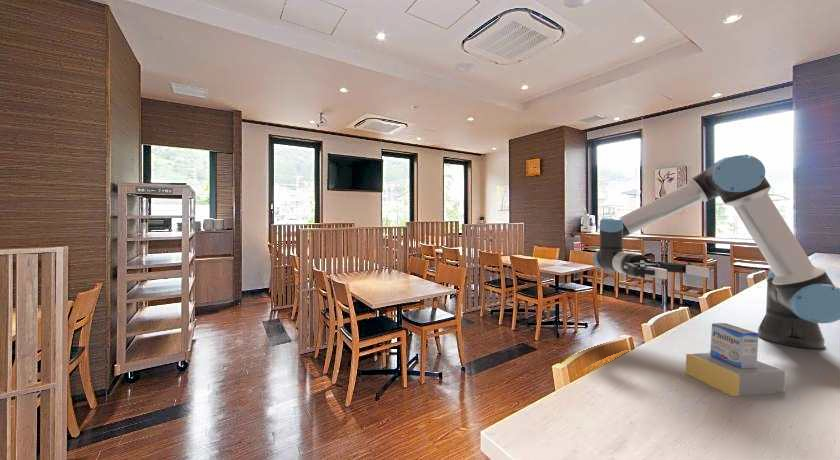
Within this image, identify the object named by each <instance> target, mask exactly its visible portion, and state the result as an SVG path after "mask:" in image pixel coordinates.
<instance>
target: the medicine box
mask: <svg viewBox="0 0 840 460" xmlns="http://www.w3.org/2000/svg"><path fill="white" fill-rule="evenodd" d="M758 348H759V336H758V332H756V331H751V330H749V329H745V328H742V327H738V326H737V325H732V324H729V323H727V322H726V323H725V322H718V323H717V322H715V323H712V324H711V335H710V351H709V353H710V355H711V357H714V358H716V359H719V360H721V361H724V362H726V363H729V364H731V365H734V366H736V367H738V368H741V369H748V368H756V367H757V361H758V351H759V349H758Z"/></svg>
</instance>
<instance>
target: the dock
mask: <svg viewBox="0 0 840 460" xmlns="http://www.w3.org/2000/svg"><path fill="white" fill-rule="evenodd" d="M785 372H786V371H785V370H783V369H780V368H777V367H776V366H775V367H774V366H772V365H769V364H767V363H764V362H761V361H760V360H757V367H756V368H748V369H741V368H738V367H736V366H734V365H731V364H729V363H726V362H724V361H721V360H719V359H716V358H714V357H711V355H710V352H705V353H704V352H702V353H700V352H699V353H686V355H685V374H687V375H689V376H691V377H693V378H695V379H696V380H699V381H701V382H702V383H705V384H707V385H709V386H711V387H712V388H715V389H716V390H719V391H721V392H723V393H726V394H727V395H729V396H731V397H741V396H742V397H743V396H754V395H763V394H764V395H765V394H766V395H767V394H776V393H777V394H778V393H784V392H785V377H786V376H785V374H786V373H785Z"/></svg>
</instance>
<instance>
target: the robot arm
mask: <svg viewBox="0 0 840 460" xmlns="http://www.w3.org/2000/svg"><path fill="white" fill-rule="evenodd" d="M771 188H772V186H771V184H770V183H769V181H768V180H767V178H766V168H765V165H764V164H763V162H762V161H761V160H760V159H759V158H757V157H755V156H753V155H750V154H745V153H744V154H743V153H739V154H737V153H736V154H732V155H728V156H724V157H723V158H722V159H718V161H716V162H715V163H713V164H711V165H710V166H708V167H707V168H706V169H705V170H703V171H702V172H700V173H699V174H697V175H695V176H693V177H692V178H690V179H689V180H688V182H687V183H686V184H684V185H682V186H680V187H678V188H676V189H674V190H672V191H670V192H668V193H665V194H664V195H662V196H659V197H658V198H656V199H654V200H652V201H650V202H648V203H646V204H644V205H642V206H640V207H637V208H635V209H634V210H632V211H630V212H629V213H626V214H624V215H622V216H621V217H619V218H618V217H617V218H601V219H600V221H599V227H598V228H599V250H597V251H595V253H594V256H593V263H594V265H595V266H596V267H597V268H598V269H602V270H603V271H604V270H605V271H609V272H615V273H620V274H622V276H626V275H628V276H633V277H640V278H643V279H644V278H646V276H647V277H651V278H655V279H656V278H657V279H661V280H668V273H677V274H678V273H679V274H681V273H682V274H685V275H691V276H697V277H702V278H710V268H709V267H705V266H697V265H694V264H692V263H691V262H687V263H679V262H678V263H677V262H664V261H660V260H658V261H657V260H656V261H655V260H652V259H651V260H650V259H648V258H647V257H646V256H645V255H644V254H641V253H640V254H639V253H635V252H627V251H624V250H623V249H624V248H623V247H624V246H623V242H624V239H623V238H625V237H627V236H630V235H632V234H634V233H635V232H638V231H640V230H642V229H644V228H646V227H648V226H651V225H653V224H655V223H657V222H659V221H661V220H663V219H666V218H668V217H669V216H672V215H674V214H676V213H678V212H681V211H683V210H685V209H687V208H689V207H691V206H693V205H696V204H697V203H699V202H705V203H706V202H708V201H711V200H713V199H715V198H718V197H720V199H721V200H722V202H723V204H724V205H726V206H727V205H728V206H730V207H733V208H734V210H735V211H736V214H737V215H738V217H739V218H740V220H741V222H742V223H743V224H744V226H745V228H746V230H747V232H748V233H749V235H750V236H751V238H752V240H753V242H754V243H755V245H756V246H757V248H758V250H759V251H760V253H761V254H762V256H763V257H764V259H765V261H766V263H767V264H768V266H769V267H770V270H771V271H769V272H768V274H767V278H766V282H767V284H766V306H765V307H766V309H765V315H764V316H763V318H762V321H761V323H760V324H759V327H758V328H757V333H758V337H760V338H761V339H764V340H766V341H770V342H773V343H775V344H776V343H777V344H780V345H784V346H788V347H789V346H790V347H796V348H802V349H803V348H804V349H823V348H825V342H826V340H825V337H824V336H823V332H822V330H821V327H820V325H819V324H831V323H835V322H837V321H839V320H840V287H838V286H836V285H834V283H833V281H832V279H830V277H829V275H828V274H827V272H826V271H825V269H823V268H821V267H820V268H819V267H818V266H817V267H816V266H815V265H813V264H812V263H813V262H812V261H811V260H810V258H809V257H808V256H807V254H806V252H805V250H804V249H803V248H802V246H801V244H800V243H799V241H798V240H797V238H796V236H795V235H794V234H793V231H792V230H791V228H790V227H789V225H788V224H787V222H786V221H785V218H784V217H783V216H782V214H781V213H780V211H779V209H778V208H777V206H776V204H774V201H773V200H772V198H771V196H770V195H769V191H770V190H771Z"/></svg>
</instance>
